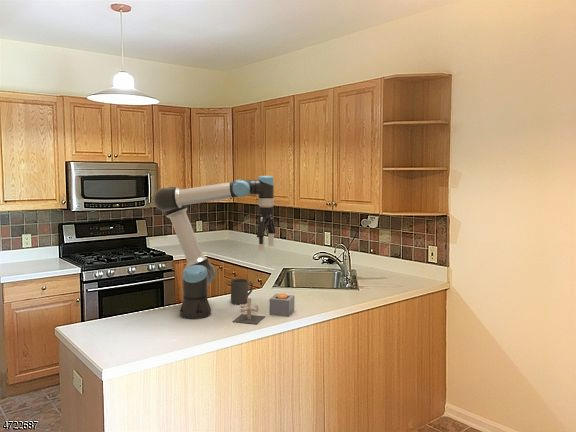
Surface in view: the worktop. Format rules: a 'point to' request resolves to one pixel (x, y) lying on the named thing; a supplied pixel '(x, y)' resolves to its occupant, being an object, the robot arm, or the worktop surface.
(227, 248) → the worktop surface
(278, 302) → the housing
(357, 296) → the worktop surface
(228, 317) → the worktop surface
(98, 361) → the worktop surface
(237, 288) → the mug
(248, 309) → the beige toy jack
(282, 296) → the plunger
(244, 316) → the mat
